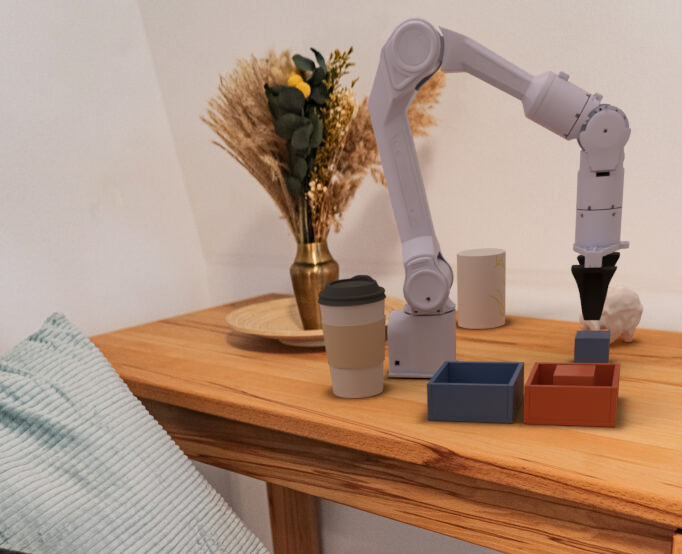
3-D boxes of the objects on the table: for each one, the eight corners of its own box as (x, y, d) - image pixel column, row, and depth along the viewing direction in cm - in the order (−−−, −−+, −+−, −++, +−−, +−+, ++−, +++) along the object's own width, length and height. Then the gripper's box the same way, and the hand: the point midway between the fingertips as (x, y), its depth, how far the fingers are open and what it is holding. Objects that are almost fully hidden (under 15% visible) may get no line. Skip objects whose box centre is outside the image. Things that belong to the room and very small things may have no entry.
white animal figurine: (608, 290, 121) (567, 285, 132) (608, 349, 124) (567, 340, 135) (647, 284, 122) (603, 280, 133) (646, 343, 125) (602, 335, 136)
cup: (504, 328, 142) (504, 255, 137) (455, 329, 144) (454, 257, 139) (506, 317, 149) (506, 247, 144) (460, 318, 151) (458, 249, 146)
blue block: (573, 370, 117) (574, 338, 115) (575, 361, 120) (577, 330, 119) (607, 370, 115) (609, 338, 113) (608, 361, 119) (610, 330, 117)
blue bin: (427, 420, 102) (426, 383, 100) (445, 394, 111) (444, 360, 109) (512, 423, 99) (512, 385, 97) (523, 397, 108) (524, 361, 106)
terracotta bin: (523, 423, 98) (524, 385, 96) (534, 397, 107) (535, 362, 105) (614, 427, 95) (617, 388, 93) (617, 399, 104) (620, 363, 102)
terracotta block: (552, 411, 100) (553, 375, 98) (555, 400, 104) (557, 364, 102) (591, 413, 98) (593, 375, 96) (593, 401, 102) (595, 365, 100)
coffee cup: (369, 403, 110) (362, 287, 103) (312, 396, 114) (302, 285, 108) (402, 384, 116) (397, 274, 110) (347, 378, 121) (340, 272, 115)
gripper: (630, 213, 101) (622, 325, 107) (633, 200, 113) (626, 301, 119) (569, 215, 103) (565, 325, 109) (579, 202, 115) (575, 302, 121)
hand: (593, 313), depth 114 cm, fingers open, 7 cm apart
